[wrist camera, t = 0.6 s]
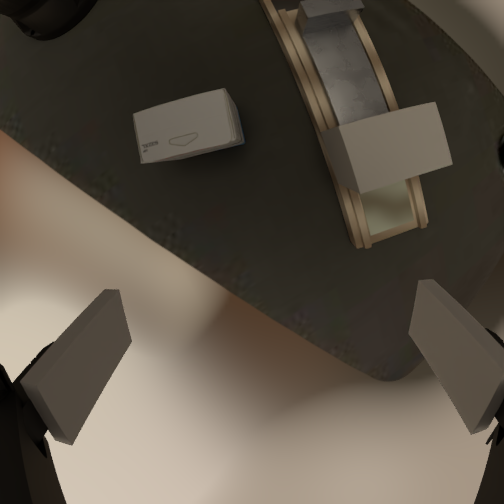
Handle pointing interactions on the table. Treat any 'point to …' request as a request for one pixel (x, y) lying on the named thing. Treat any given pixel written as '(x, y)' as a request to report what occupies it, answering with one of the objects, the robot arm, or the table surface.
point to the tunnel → (387, 148)
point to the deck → (352, 203)
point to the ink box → (188, 127)
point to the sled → (340, 58)
